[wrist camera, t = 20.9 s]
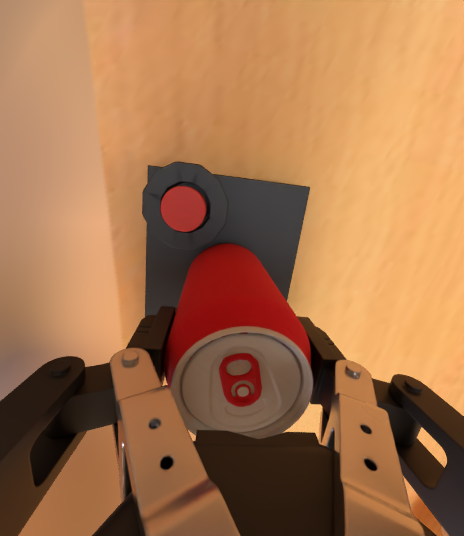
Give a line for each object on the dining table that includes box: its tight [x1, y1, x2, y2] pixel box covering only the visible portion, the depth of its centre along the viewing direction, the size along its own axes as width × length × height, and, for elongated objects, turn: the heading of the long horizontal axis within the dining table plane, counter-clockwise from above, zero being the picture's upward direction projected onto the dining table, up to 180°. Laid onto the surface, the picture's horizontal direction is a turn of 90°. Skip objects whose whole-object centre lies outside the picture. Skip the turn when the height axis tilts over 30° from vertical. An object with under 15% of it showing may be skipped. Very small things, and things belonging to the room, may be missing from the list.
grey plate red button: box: [142, 162, 310, 317], centre depth 20 cm, size 18×12×4 cm, turn 173°
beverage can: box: [164, 244, 313, 439], centre depth 14 cm, size 6×6×12 cm
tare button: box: [161, 186, 206, 232], centre depth 16 cm, size 3×3×2 cm
